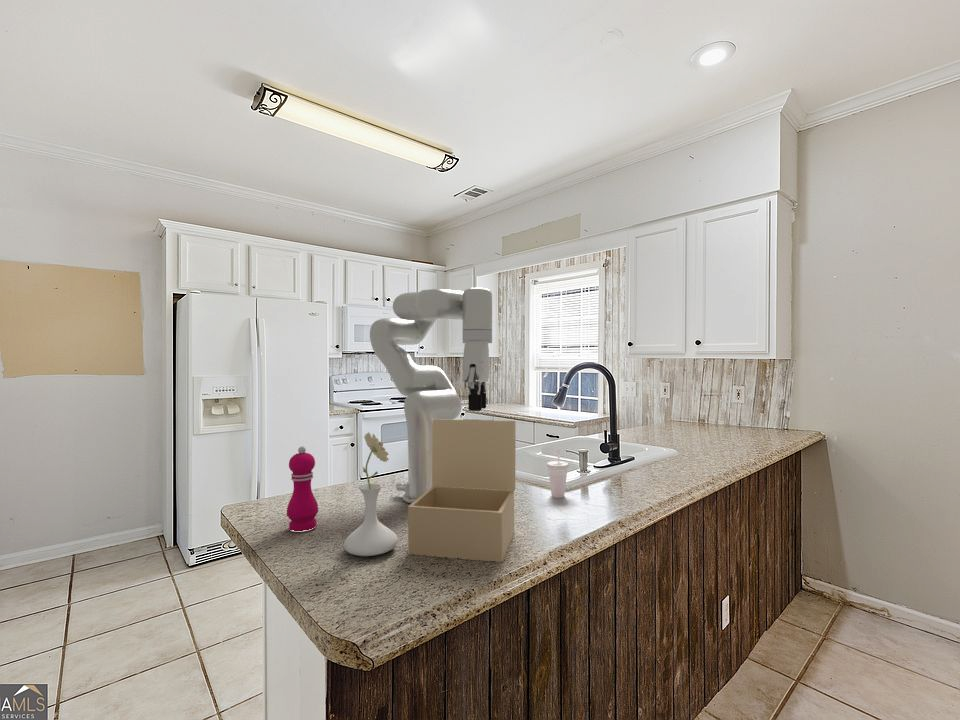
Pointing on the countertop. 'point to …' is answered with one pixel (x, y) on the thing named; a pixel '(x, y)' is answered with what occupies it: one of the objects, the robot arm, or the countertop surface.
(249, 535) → the countertop surface
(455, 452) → the carton lid
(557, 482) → the smoothie
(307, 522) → the pepper mill
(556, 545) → the countertop surface
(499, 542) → the carton
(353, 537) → the flower in vase
